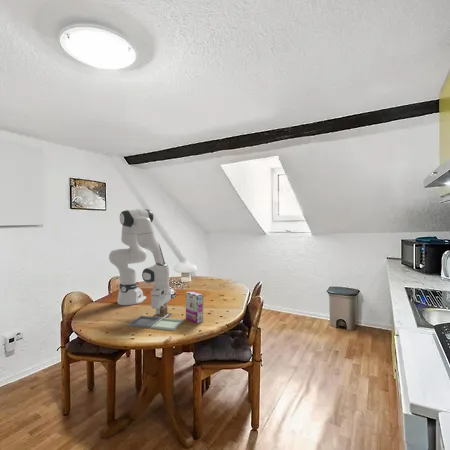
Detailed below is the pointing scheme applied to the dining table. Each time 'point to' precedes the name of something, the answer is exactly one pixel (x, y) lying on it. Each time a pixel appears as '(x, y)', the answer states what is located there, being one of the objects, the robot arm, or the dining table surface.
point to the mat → (165, 316)
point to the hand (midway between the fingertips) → (161, 311)
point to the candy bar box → (194, 306)
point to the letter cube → (162, 311)
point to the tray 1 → (144, 321)
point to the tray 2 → (167, 324)
